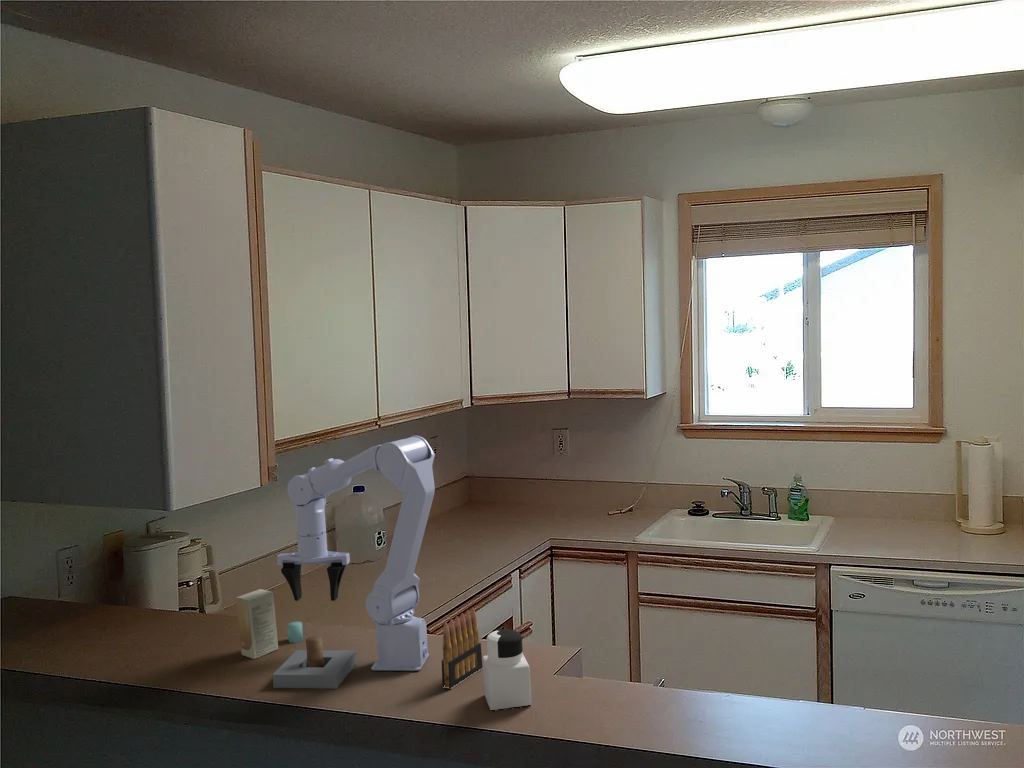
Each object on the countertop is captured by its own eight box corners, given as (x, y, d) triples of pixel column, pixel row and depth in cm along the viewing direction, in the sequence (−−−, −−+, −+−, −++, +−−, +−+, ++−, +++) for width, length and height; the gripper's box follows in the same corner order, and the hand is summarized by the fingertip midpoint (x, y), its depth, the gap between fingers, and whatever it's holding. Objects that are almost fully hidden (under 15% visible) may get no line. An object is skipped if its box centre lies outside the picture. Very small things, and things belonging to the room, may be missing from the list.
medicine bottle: (524, 689, 168) (520, 623, 167) (532, 706, 161) (528, 637, 160) (484, 694, 167) (480, 628, 166) (490, 711, 160) (486, 642, 159)
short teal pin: (305, 637, 200) (304, 621, 200) (300, 643, 197) (299, 626, 197) (291, 637, 200) (290, 621, 200) (286, 642, 197) (285, 626, 197)
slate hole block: (356, 663, 184) (355, 650, 184) (336, 688, 173) (335, 675, 172) (297, 662, 186) (296, 650, 186) (273, 687, 174) (272, 674, 174)
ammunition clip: (474, 667, 180) (471, 605, 178) (483, 668, 179) (479, 606, 177) (442, 688, 170) (438, 623, 169) (450, 690, 169) (446, 624, 168)
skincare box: (266, 645, 196) (261, 587, 195) (279, 649, 194) (274, 591, 193) (239, 655, 192) (234, 596, 190) (252, 660, 189) (248, 599, 188)
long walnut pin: (326, 671, 181) (323, 636, 180) (321, 678, 178) (319, 641, 177) (311, 672, 181) (308, 636, 180) (306, 678, 178) (303, 642, 177)
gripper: (352, 527, 193) (357, 592, 195) (284, 528, 196) (289, 593, 197) (341, 536, 186) (346, 604, 188) (271, 537, 189) (276, 604, 190)
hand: (316, 599), depth 192 cm, fingers open, 7 cm apart
